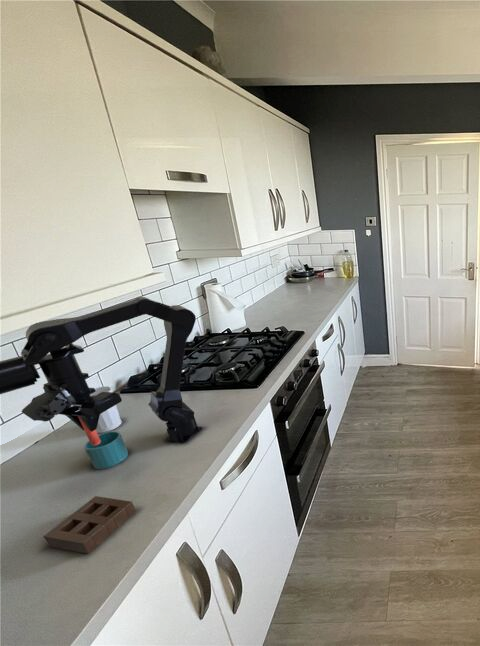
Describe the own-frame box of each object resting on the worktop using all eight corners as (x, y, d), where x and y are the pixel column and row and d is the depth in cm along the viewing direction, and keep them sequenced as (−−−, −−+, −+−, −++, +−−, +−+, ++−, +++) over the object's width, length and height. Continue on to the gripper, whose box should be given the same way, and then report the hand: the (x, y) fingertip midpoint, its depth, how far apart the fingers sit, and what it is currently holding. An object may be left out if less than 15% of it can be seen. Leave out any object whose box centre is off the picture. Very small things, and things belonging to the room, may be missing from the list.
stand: (100, 505, 80) (95, 495, 79) (136, 511, 79) (131, 501, 78) (49, 546, 71) (43, 536, 70) (88, 554, 69) (82, 543, 68)
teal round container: (114, 448, 98) (105, 430, 96) (135, 451, 97) (127, 432, 95) (86, 467, 92) (76, 447, 89) (108, 470, 91) (99, 450, 88)
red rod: (97, 442, 89) (82, 409, 85) (103, 442, 88) (88, 409, 85) (90, 446, 87) (74, 413, 83) (96, 447, 87) (80, 414, 83)
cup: (121, 415, 114) (108, 383, 109) (127, 424, 109) (114, 391, 104) (89, 427, 108) (73, 394, 103) (94, 438, 103) (78, 404, 99)
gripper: (-14, 391, 74) (19, 449, 80) (57, 396, 71) (86, 456, 77) (47, 366, 85) (72, 419, 90) (111, 370, 82) (134, 424, 87)
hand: (90, 430), depth 86 cm, fingers closed on red rod, 2 cm apart
